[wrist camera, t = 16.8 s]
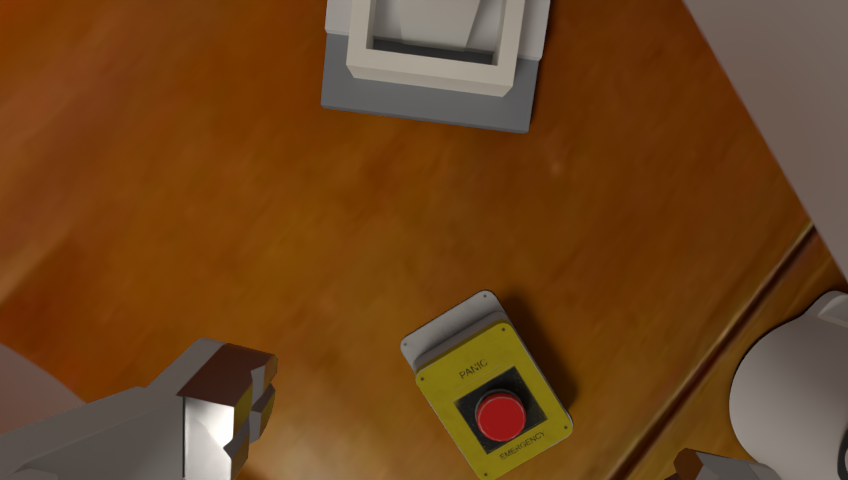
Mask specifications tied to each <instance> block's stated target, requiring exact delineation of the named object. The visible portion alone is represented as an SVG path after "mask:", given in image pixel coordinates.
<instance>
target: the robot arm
mask: <svg viewBox="0 0 848 480" xmlns="http://www.w3.org/2000/svg"><path fill="white" fill-rule="evenodd" d="M277 363H278V358H277V357H276V355H274V354H270V353H266V352H262V351H258V350H254V349H250V348H246V347H242V346H238V345H234V344H230V343H225V342H221V341H217V340H213V339H209V338H201V339H198V340H196V341H195V342H194V343H193V344H192V345H191V346H190V347H189V348H188V349H187V350H185V351H184V352H183V353H182V354H181V355H180V356H179V357H178V358H177V359H176V360H175V361H174V362H173V363H171V364H170V365H169V366H168V367H167V368H166V369H165V370H164V371H163V372H162V373H161V374H160V375H159V376H157V377H156V378H155V379H154V380H153V381H152V382H151V383H150V384H149V385H148V386H147V387H146V388H141V387H134V388H131V389H128V390H126V391H123V392H120V393H117V394H114V395H111V396H109V397H106V398H103V399H100V400H97V401H94V402H92V403H89V404H86V405H83V406H81V407H77V408H75V409H72V410H69V411H66V412H63V413H60V414H58V415H55V416H52V417H50V418H46V419H43V420H41V421H38V422H35V423H32V424H30V425H26V426H24V427H21V428H18V429H15V430H12V431H10V432H7V433H4V434H1V435H0V480H183V479H188V480H235V478H236V477H237V475H238V473H239V472H240V470H241V468H242V467H243V465H244V463H245V462H246V460H247V458H248V450H249V444H251V443H253V442H254V441H256V440H258V439H259V438H260V436H261V435H262V433H263V431H264V429H265V428H266V425H267V423H268V420H269V418H270V415H271V412H272V408H273V404H274V398H275V389H274V388H273V386H272V384H271V383H270V382H271V381H272V379H273V378H274V376H275V375H276V373H277ZM729 410H730V418H731V423H732V426H733V429H734V432H735V434H736V436H737V438H738V440H739V442H740V443H741V445H742V446H743V447H744V449H745V450H746V451H747V452H748V453H749V454H750V455H751V456H752V457H753V458H754V459H755V460H757V461H758V462H759V463H757V462H752V461H747V460H742V459H734V458H729V457H725V456H720V455H715V454H711V453H706V452H702V451H697V450H693V449H688V448H685V449H683V450H682V451H680V452H679V453H678V455H677V457H676V458H675V460H674V462H673V463H674V466H675V469H676V472H677V473H675V474H673V475H671V476H670V477H668V478H666V479H664V480H848V294H846V293H843V292H840V291H830V292H828V293H826V294H824V295H823V296H822V297H820V298H819V299H818V300H817V301H816V302H815V303H814V304H813V305H812V306H811V307H810V308H809V309H808V310H807V311H806V312H805V314H803V315H802V316H800V317H799V318H797V319H795V320H793V321H791V322H789V323H786V324H784V325H782V326H780V327H778V328H777V329H775V330H773V331H772V332H770V333H769V334H767V335H766V336H765V337H763V338H762V339H761V340H760V341H759V342H758V343H757V344H756V345H755V346H754V347H753V348H752V349H751V350H750V351H749V353H748V354H747V355H746V357H745V358H744V359H743V361H742V363H741V364H740V366H739V368H738V370H737V372H736V375H735V377H734V380H733V383H732V387H731V392H730V400H729Z"/></svg>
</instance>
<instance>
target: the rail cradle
mask: <svg viewBox="0 0 848 480" xmlns="http://www.w3.org/2000/svg"><path fill="white" fill-rule="evenodd" d="M549 6H550V0H480V3H479V6H478V9H477V12H476V15H475V18H474V21H473V25H472V28H471V31H470V34H469V37H468V40H467V43H466V46H465V50H464V52H460V51H453V50H445V49H437V48H430V47H422V46H415V45H407V44H403V41H402V33H401V25H400V17H399V9H398V1H397V0H328V1H327V12H326V23H325V30H326V32H327V42H326V53H325V63H324V74H323V85H322V96H321V106H323V107H324V108H326V109H334V110H342V111H350V112H357V113H365V114H373V115H381V116H389V117H397V118H404V119H412V120H420V121H428V122H436V123H444V124H451V125H459V126H467V127H475V128H483V129H491V130H498V131H506V132H514V133H522V134H524V133H526V132H528V130H529V123H530V117H531V110H532V103H533V97H534V90H535V83H536V76H537V70H538V63H539V60H540V59H541V58H542V53H543V46H544V39H545V33H546V26H547V19H548V13H549Z"/></svg>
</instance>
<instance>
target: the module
mask: <svg viewBox="0 0 848 480" xmlns="http://www.w3.org/2000/svg"><path fill="white" fill-rule="evenodd" d="M397 1H398V9H399V17H400V25H401V33H402V41H403V44H407V45H415V46H422V47H430V48H437V49H445V50H453V51H460V52H464V50H465V46H466V43H467V40H468V37H469V34H470V31H471V28H472V25H473V21H474V18H475V15H476V12H477V9H478V6H479V3H480V0H397Z"/></svg>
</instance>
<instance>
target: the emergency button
mask: <svg viewBox="0 0 848 480" xmlns="http://www.w3.org/2000/svg"><path fill="white" fill-rule="evenodd" d="M400 348H401V351H402V354H403V355H404V357H405V358H406V360H407V361H408V363H409V364H410V366H411V367H412V369H413V370H414V374H415V375H414V376H415V380H416V383H417V385H418V387H419V388H420V390H421V391H422V393H423V394H424V396H425V398H426V399H427V401H428V402H429V404H430V405H431V407H432V408H433V410H434V411H435V413H436V414H437V416H438V417H439V419H440V420H441V422H442V423H443V425H444V426H445V428H446V429H447V431H448V432H449V434H450V435H451V437H452V438H453V440H454V442H455V443H456V445H457V446H458V448H459V449H460V451H461V452H462V454H463V455H464V457H465V458H466V460H467V461H468V463H469V464H470V466H471V467H472V469H473V470H474V472H475V473H476V475H477V476H478V478H479V479H480V480H494V479H496V478H498V477H499V476H501V475H503V474H505V473H506V472H508V471H510V470H511V469H513V468H515V467H517V466H518V465H520V464H522V463H524V462H525V461H527V460H529V459H530V458H532V457H534V456H536V455H537V454H539V453H541V452H543V451H544V450H546V449H548V448H549V447H551V446H553V445H555V444H556V443H558V442H560V441H562V440H563V439H565V438H567V437H568V436H569V435H570V434H571V432H572V429H573V423H572V420H571V418H570V416H569V414H568V413H567V411H566V409H565V408H564V406H563V405H562V403H561V401H560V400H559V398H558V397H557V395H556V393H555V392H554V390H553V388H552V387H551V385H550V384H549V382H548V380H547V379H546V377H545V376H544V374H543V372H542V371H541V369H540V367H539V366H538V364H537V363H536V361H535V359H534V358H533V356H532V355H531V353H530V351H529V350H528V348H527V346H526V345H525V343H524V342H523V340H522V338H521V337H520V335H519V334H518V332H517V330H516V329H515V327H514V325H513V324H512V322H511V321H510V319H509V317H508V316H507V314H506V313H505V311H504V309H503V308H502V306H501V304H500V303H499V301H498V300H497V298H496V297H495V296H494V295H493V294H492V293H491V292H489V291H486V290H484V291H480V292H478V293H476V294H475V295H473V296H472V297H470V298H468V299H467V300H465V301H463V302H462V303H460V304H458V305H457V306H455V307H453V308H452V309H450V310H448V311H447V312H445V313H444V314H442V315H440V316H439V317H437V318H435V319H434V320H432V321H430V322H429V323H427V324H425V325H424V326H422V327H420V328H419V329H417V330H416V331H414V332H412V333H411V334H409V335H407V336H406V337H405V338H404V339H403V340H402V341H401V347H400Z"/></svg>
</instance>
